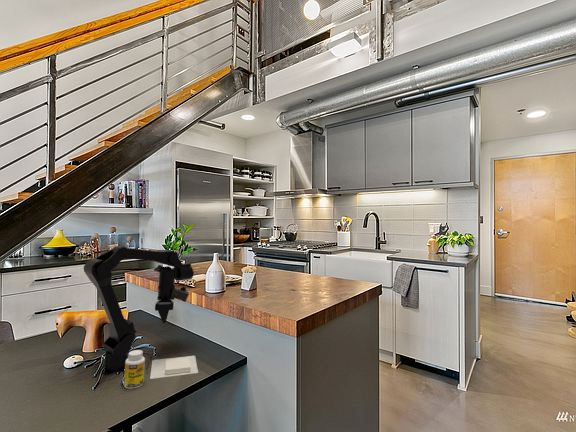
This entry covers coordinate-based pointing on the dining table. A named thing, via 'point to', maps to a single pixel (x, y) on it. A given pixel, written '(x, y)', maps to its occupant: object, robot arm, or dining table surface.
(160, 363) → the mat
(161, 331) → the dining table surface
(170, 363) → the tile
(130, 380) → the supplement bottle
